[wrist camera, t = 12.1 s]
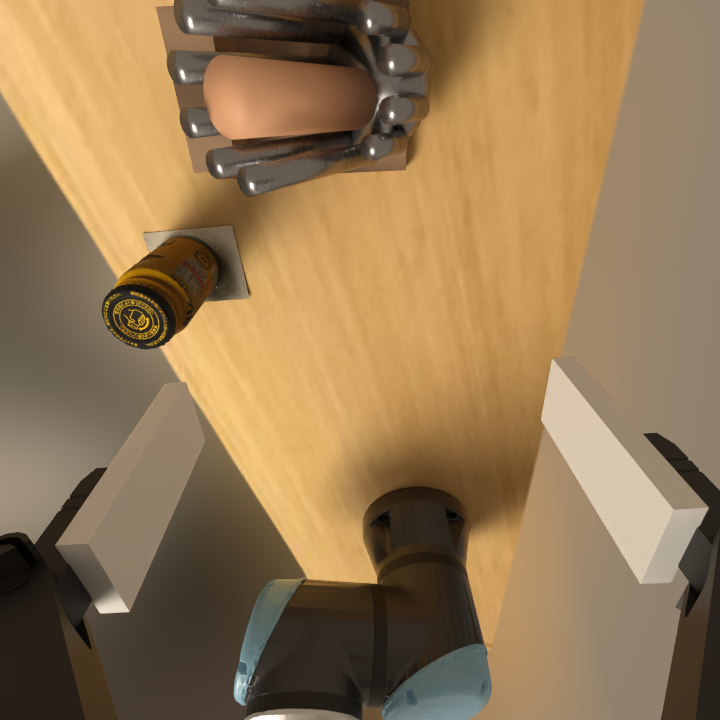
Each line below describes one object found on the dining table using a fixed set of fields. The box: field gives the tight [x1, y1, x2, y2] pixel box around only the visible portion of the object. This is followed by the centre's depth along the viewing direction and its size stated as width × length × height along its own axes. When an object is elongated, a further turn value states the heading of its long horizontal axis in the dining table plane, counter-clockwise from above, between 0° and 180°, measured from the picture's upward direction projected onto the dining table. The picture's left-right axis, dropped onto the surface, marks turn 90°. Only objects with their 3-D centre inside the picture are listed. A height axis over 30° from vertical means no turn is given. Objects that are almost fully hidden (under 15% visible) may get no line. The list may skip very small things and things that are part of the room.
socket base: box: [156, 0, 408, 179], centre depth 31 cm, size 12×16×8 cm
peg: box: [203, 55, 376, 140], centre depth 28 cm, size 4×4×12 cm
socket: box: [167, 0, 431, 197], centre depth 28 cm, size 10×16×15 cm, turn 93°
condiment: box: [102, 225, 249, 349], centre depth 37 cm, size 7×8×12 cm
